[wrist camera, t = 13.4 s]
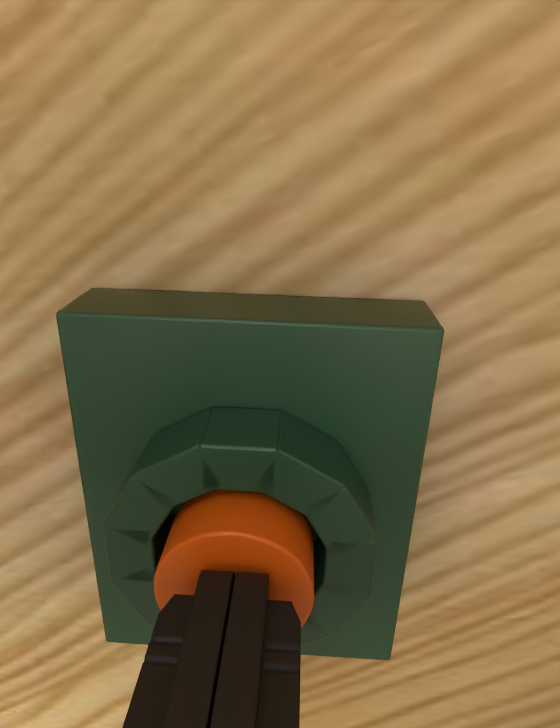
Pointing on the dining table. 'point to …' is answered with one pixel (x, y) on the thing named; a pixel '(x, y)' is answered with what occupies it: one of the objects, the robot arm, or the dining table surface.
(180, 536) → the button
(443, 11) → the dining table surface
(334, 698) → the dining table surface
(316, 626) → the button box
